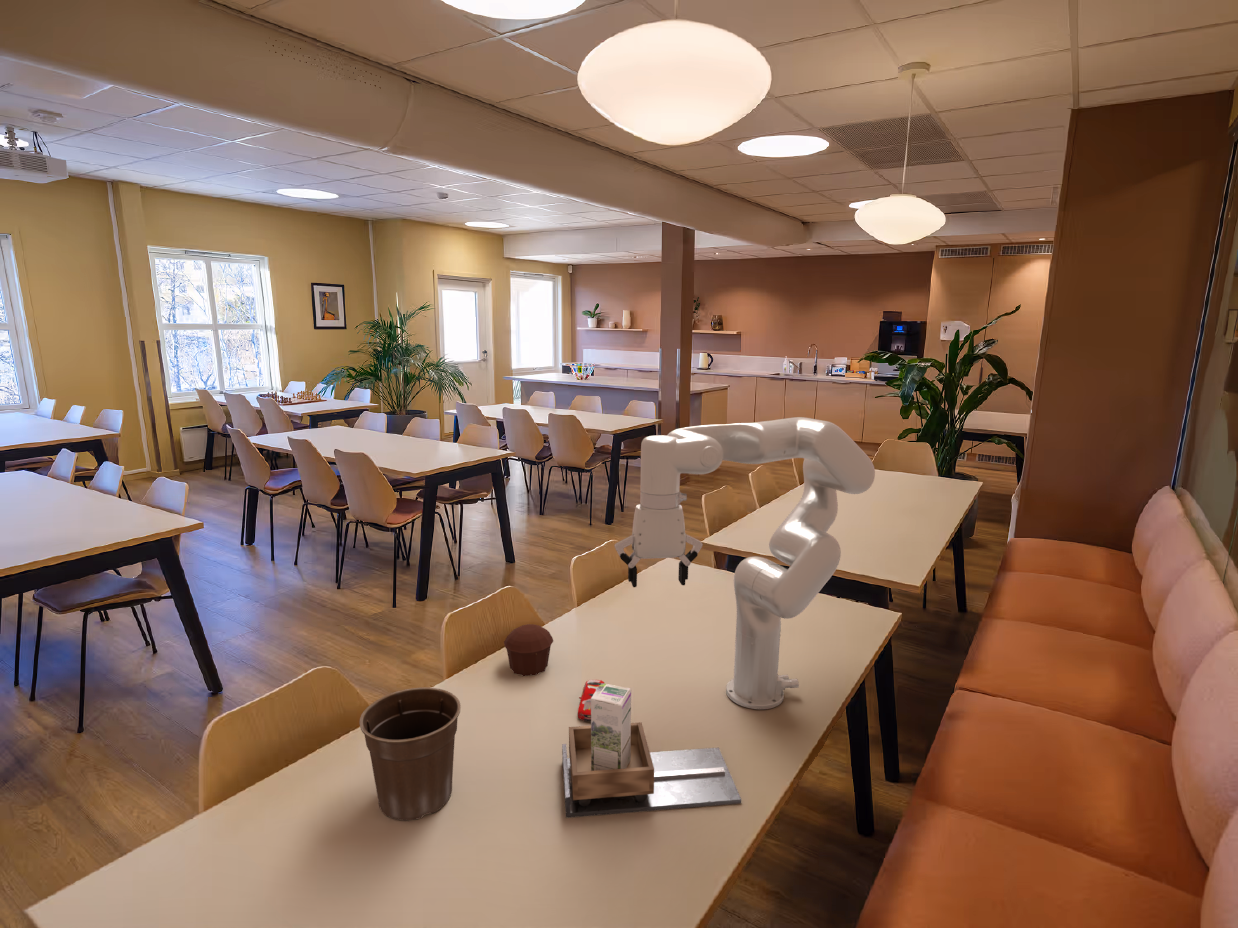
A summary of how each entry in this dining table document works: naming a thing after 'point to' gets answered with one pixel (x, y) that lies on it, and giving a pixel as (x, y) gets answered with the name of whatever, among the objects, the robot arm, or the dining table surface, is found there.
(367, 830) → the dining table surface
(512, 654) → the muffin
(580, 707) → the race car
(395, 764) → the plant pot
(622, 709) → the syrup box
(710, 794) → the track
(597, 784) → the open wooden crate
